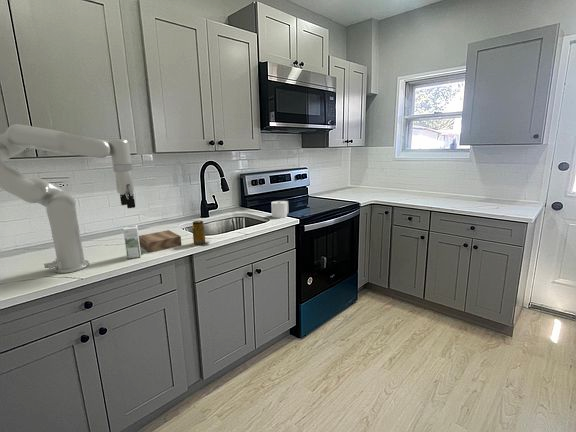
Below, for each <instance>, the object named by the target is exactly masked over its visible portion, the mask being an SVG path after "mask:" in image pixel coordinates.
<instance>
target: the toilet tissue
mask: <svg viewBox="0 0 576 432" xmlns="http://www.w3.org/2000/svg"><path fill="white" fill-rule="evenodd" d="M288 214H289V200H276V201H275V200H274V201H271V217H272V218H276V219H281V218H286V217H287V216H288Z"/></svg>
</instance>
